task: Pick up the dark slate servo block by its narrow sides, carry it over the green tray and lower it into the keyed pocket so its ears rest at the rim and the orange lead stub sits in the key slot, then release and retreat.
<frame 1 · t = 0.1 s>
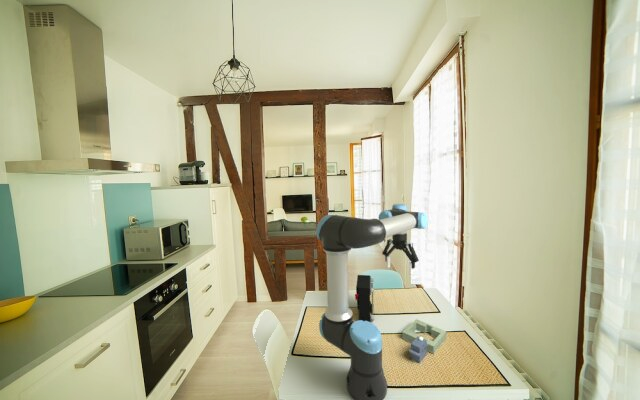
hand: (399, 270, 133), 28 cm above the table, fingers open, 13 cm apart
green tray: (424, 338, 119), on the table
electrical component: (365, 314, 142), on the table
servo: (418, 356, 107), on the table
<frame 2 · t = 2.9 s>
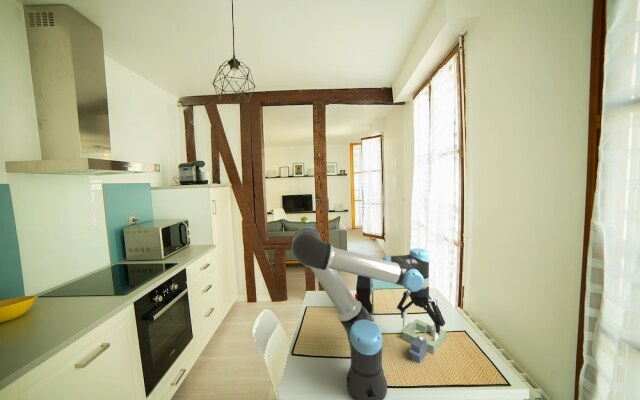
hand: (419, 332, 106), 11 cm above the table, fingers open, 13 cm apart
nothing on the table moved.
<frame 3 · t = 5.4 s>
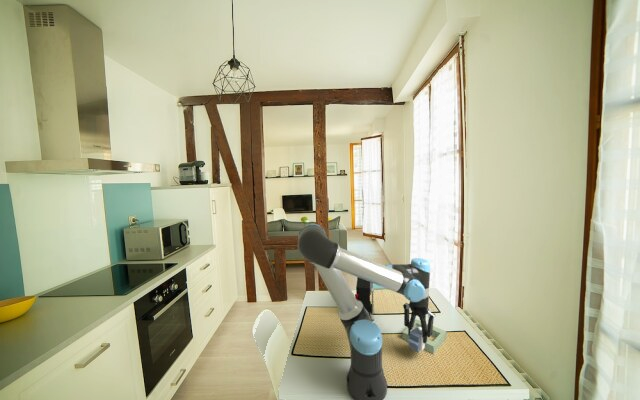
hand: (417, 345, 107), 5 cm above the table, fingers closed on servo, 4 cm apart
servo: (417, 346, 107), point 5 cm above the table, touching gripper
everything else where it was.
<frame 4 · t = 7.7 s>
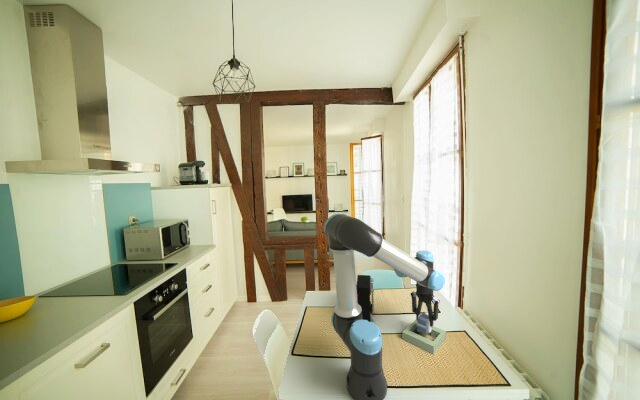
hand: (424, 329, 119), 5 cm above the table, fingers closed on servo, 4 cm apart
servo: (424, 329, 119), point 4 cm above the table, touching gripper
everything else where it was.
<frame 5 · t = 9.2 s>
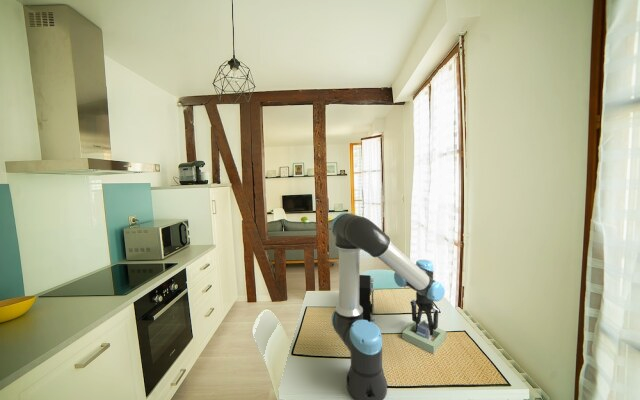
hand: (424, 338, 119), 0 cm above the table, fingers closed on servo, 4 cm apart
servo: (424, 338, 119), resting in green tray, touching gripper
everything else where it was.
when the fingers open (0 cm above the table, at t = 10.1 s): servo stays where it is, resting in green tray.
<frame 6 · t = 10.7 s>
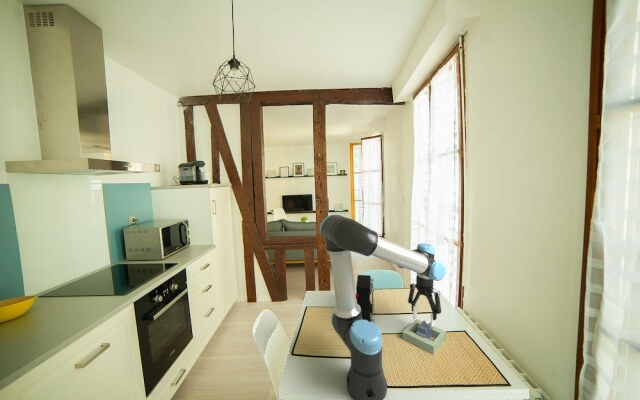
hand: (423, 321, 118), 9 cm above the table, fingers open, 8 cm apart
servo: (424, 338, 119), resting in green tray
everything else where it was.
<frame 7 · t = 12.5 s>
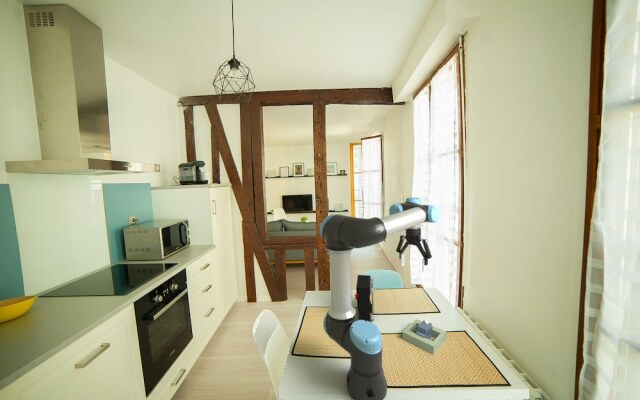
hand: (413, 268, 128), 31 cm above the table, fingers open, 11 cm apart
nothing on the table moved.
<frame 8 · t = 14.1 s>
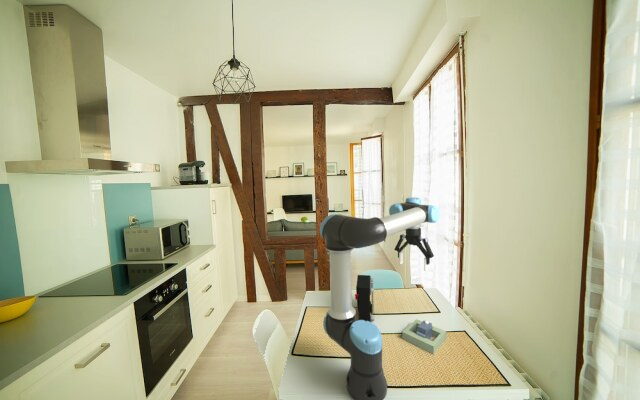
hand: (413, 266, 128), 32 cm above the table, fingers open, 13 cm apart
nothing on the table moved.
at the end: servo 0.4 cm off-centre on the green tray, point 0.0 cm above the green tray's base; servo tilted 0°; the gripper is holding nothing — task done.
